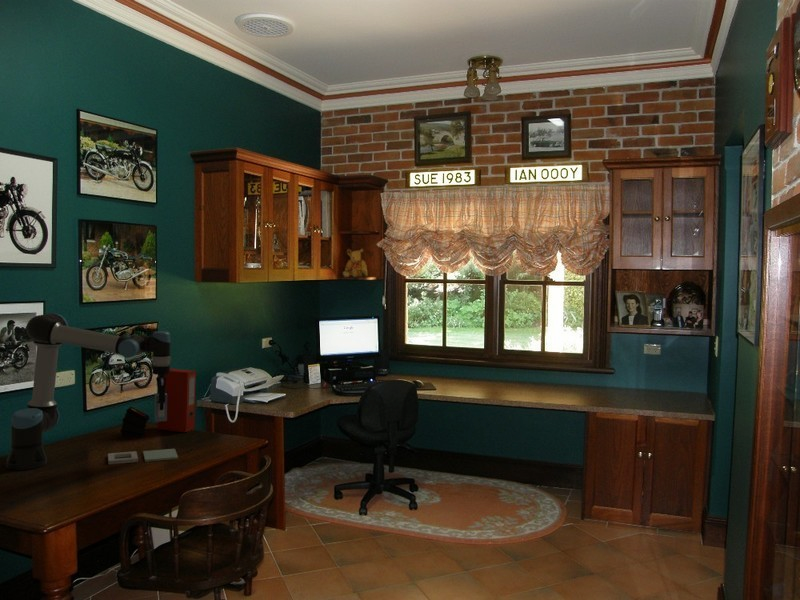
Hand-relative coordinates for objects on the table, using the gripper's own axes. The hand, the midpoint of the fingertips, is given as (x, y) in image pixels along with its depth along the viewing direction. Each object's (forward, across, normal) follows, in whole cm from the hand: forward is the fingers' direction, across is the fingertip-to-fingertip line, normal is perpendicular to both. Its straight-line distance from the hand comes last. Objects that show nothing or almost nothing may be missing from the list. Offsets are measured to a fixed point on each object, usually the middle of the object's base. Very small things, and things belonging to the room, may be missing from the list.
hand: (160, 415), depth 296 cm
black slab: (+19, +39, +9) cm, 44 cm away
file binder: (+19, +48, -12) cm, 53 cm away
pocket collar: (+19, 0, +16) cm, 25 cm away
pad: (+19, 0, 0) cm, 19 cm away
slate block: (+2, 0, 0) cm, 2 cm away
